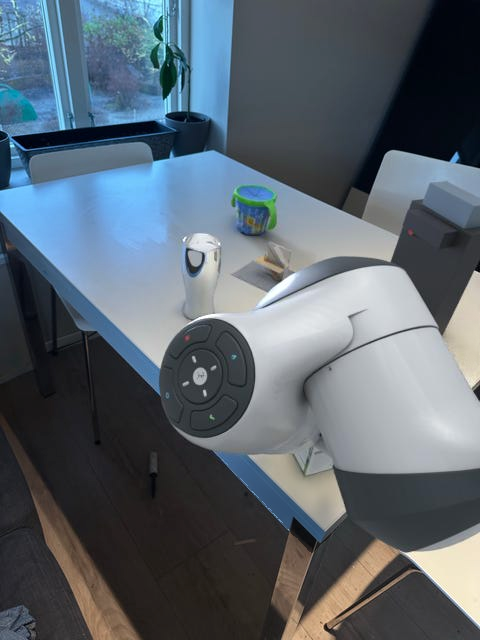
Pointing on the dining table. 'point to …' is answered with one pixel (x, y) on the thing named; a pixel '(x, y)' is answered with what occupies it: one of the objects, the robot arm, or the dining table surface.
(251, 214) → the snack cup
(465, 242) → the coffee maker
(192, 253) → the beer glass
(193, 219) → the dining table surface
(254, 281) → the architectural model
